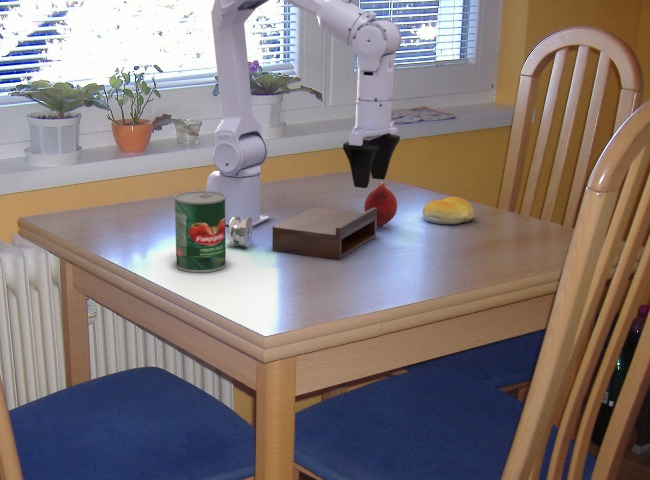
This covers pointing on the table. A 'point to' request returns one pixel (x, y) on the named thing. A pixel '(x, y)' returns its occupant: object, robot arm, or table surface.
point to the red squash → (382, 204)
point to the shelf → (325, 232)
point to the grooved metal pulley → (240, 231)
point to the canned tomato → (200, 231)
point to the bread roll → (448, 211)
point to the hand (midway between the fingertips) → (369, 182)
